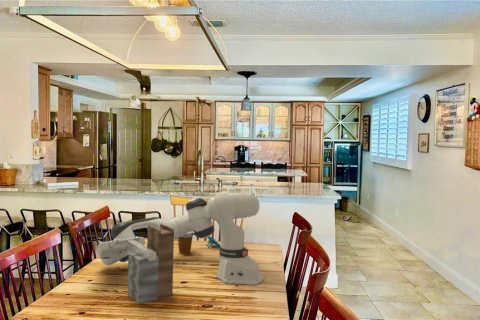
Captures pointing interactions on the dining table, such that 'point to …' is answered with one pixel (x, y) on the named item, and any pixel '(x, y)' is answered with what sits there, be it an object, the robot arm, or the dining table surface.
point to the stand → (153, 267)
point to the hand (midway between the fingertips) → (127, 239)
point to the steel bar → (141, 250)
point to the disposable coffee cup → (185, 243)
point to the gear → (212, 242)
